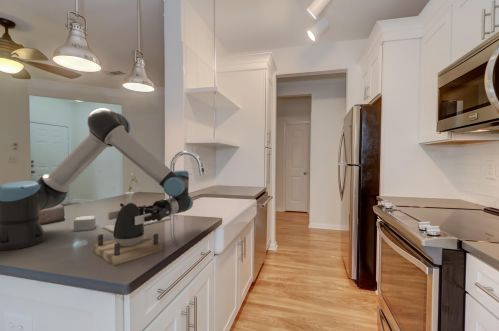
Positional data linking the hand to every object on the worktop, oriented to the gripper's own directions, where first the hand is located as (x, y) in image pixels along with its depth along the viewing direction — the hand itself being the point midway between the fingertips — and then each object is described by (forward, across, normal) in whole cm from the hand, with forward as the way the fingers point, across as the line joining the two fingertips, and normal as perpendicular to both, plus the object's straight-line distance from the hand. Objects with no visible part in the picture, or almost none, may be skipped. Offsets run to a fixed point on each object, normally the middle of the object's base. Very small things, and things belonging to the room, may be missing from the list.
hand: (121, 218), depth 87 cm
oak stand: (-3, 0, -13) cm, 13 cm away
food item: (-11, +68, -13) cm, 70 cm away
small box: (-14, +42, -13) cm, 46 cm away
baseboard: (-31, +27, -13) cm, 44 cm away
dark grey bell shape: (-3, 0, -10) cm, 11 cm away
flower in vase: (-39, +42, -13) cm, 59 cm away
